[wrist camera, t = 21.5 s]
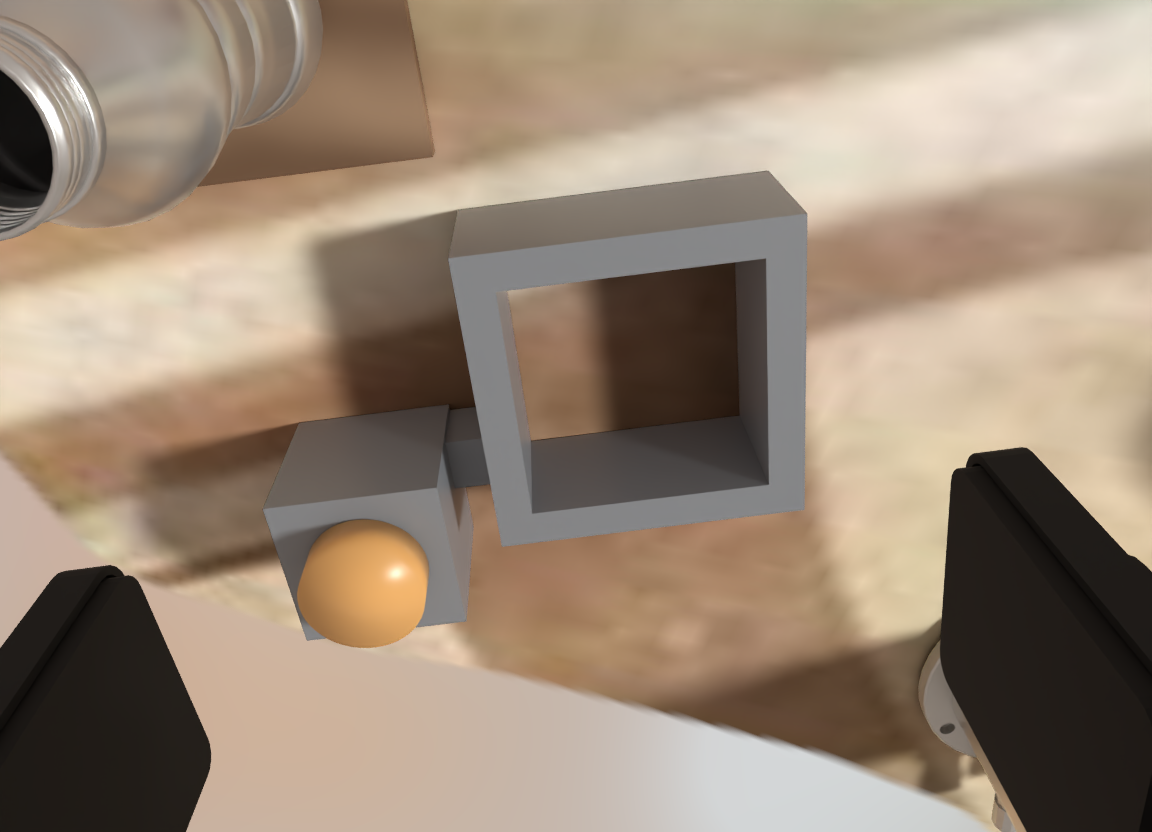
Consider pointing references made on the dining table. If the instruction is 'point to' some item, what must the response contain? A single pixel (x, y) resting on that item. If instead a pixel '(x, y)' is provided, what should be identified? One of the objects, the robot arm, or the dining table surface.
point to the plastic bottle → (136, 99)
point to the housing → (584, 462)
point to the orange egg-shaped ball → (364, 584)
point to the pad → (343, 102)
